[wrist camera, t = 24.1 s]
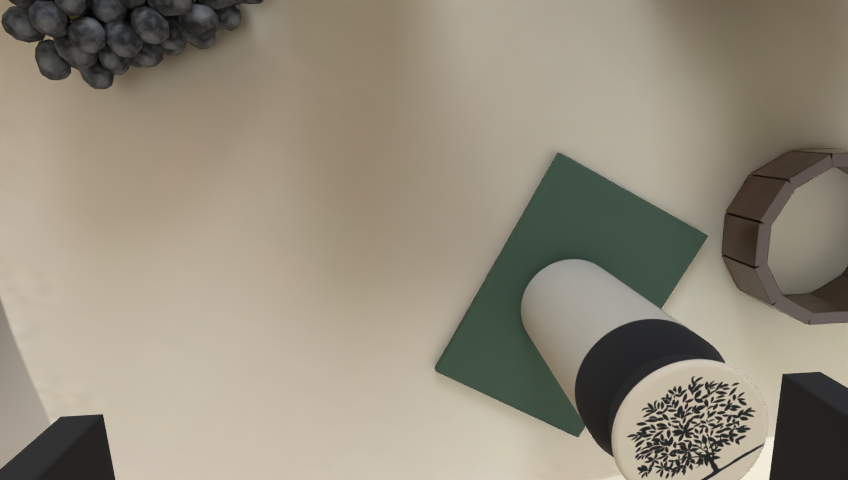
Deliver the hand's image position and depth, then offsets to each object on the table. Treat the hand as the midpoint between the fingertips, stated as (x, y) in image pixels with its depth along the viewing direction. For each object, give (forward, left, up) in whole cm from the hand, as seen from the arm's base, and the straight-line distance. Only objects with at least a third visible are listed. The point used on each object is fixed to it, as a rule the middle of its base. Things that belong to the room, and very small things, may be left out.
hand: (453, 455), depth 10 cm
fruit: (-4, -21, -31) cm, 38 cm away
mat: (+1, +15, -31) cm, 34 cm away
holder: (-13, +29, -31) cm, 44 cm away
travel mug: (+1, +15, -30) cm, 34 cm away
